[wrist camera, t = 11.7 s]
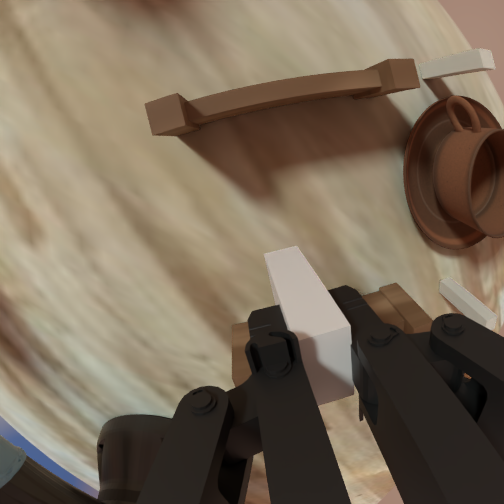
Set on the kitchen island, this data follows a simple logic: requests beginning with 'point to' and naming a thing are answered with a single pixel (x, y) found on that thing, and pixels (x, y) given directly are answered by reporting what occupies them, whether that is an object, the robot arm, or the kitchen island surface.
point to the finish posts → (444, 68)
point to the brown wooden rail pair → (283, 93)
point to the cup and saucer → (456, 173)
